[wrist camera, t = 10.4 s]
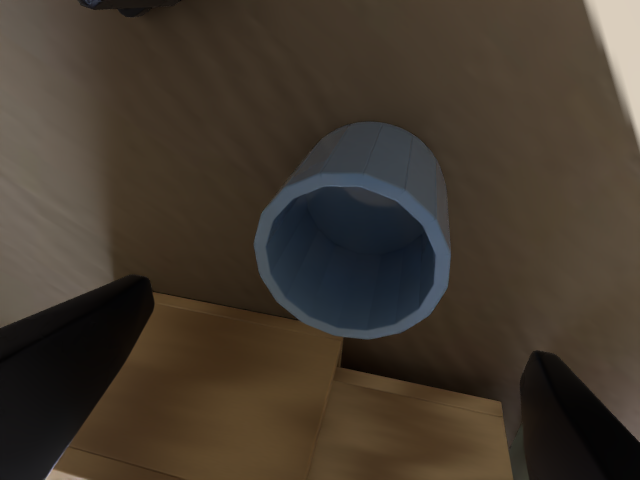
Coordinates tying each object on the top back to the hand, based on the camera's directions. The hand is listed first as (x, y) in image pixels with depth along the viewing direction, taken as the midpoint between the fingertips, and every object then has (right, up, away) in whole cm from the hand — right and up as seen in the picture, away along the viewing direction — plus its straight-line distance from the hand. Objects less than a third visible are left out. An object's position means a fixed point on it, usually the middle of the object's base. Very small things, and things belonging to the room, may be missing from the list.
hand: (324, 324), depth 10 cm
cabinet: (-5, -7, +15) cm, 17 cm away
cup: (+2, +4, +6) cm, 8 cm away
